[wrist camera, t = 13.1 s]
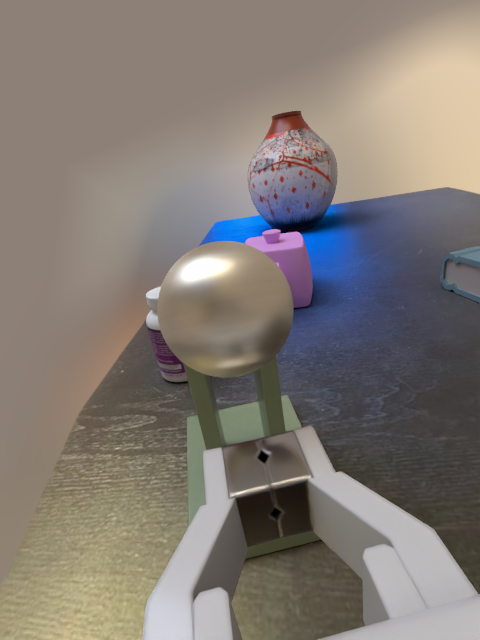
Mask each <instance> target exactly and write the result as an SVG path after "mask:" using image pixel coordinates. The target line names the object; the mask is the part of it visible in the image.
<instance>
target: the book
mask: <svg viewBox="0 0 480 640" xmlns="http://www.w3.org/2000/svg"><path fill="white" fill-rule="evenodd" d="M440 282H441V283H442V285H443V287H444V289H446V290H449V291H451V290H453V291H454V292H455V293H456V294H459V295H461V296H464V297H466V298H469V299H471V300H474V301H476V302H479V303H480V246H476V247H472V248H468V249H464V250H459V251H455V252H451V253H448V254H447V255H445V256H444V257H443V258H442V265H441V275H440Z"/></svg>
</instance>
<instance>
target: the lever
mask: <svg viewBox="0 0 480 640" xmlns="http://www.w3.org/2000/svg"><path fill="white" fill-rule="evenodd" d="M293 313H294V307H293V297H292V293H291V289H290V286H289V284H288V281H287V279H286V277H285V275H284V274H283V272H282V270H281V269H280V268H279V267H278V265H277V264H276V263H275V262H274V261H273V260H272V259H271V258H270V257H269V256H267V255H266V254H264V253H263V252H262V251H260V250H258V249H256V248H254V247H252V246H249V245H246V244H243V243H239V242H233V241H218V242H211V243H207V244H204V245H201V246H199V247H197V248H195V249H193V250H191V251H189V252H188V253H186V254H185V255H183V256H182V257H181V258H180V259H179V260H178V261H177V262H176V263H175V264H174V265H173V266H172V268H171V269H170V270H169V272H168V274H167V275H166V277H165V279H164V281H163V283H162V286H161V289H160V292H159V297H158V304H157V315H158V322H159V326H160V330H161V333H162V335H163V338H164V340H165V342H166V343H167V345H168V347H169V348H170V350H171V351H172V352H173V353H174V355H175V356H176V357H177V358H178V359H179V360H180V361H182V362H183V363H184V364H186V365H187V366H188V367H190V368H192V369H194V370H195V371H198V372H200V373H203V374H205V375H209V376H214V377H223V378H226V377H238V376H242V375H246V374H248V373H251V372H254V371H256V370H257V369H259V368H261V367H263V366H264V365H265V364H267V363H268V362H269V361H271V360H272V359H273V358H274V357H275V356H276V355H277V353H278V352H279V351H280V350H281V348H282V347H283V345H284V343H285V342H286V340H287V338H288V335H289V333H290V330H291V326H292V322H293Z"/></svg>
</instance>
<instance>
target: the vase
mask: <svg viewBox="0 0 480 640" xmlns="http://www.w3.org/2000/svg"><path fill="white" fill-rule="evenodd" d="M336 184H337V163H336V158H335V155H334V153H333V151H332V149H331V148H330V146H329V145H328V144H327V143H326V142H325V141H324V140H322V139H321V138H320V137H319V136H318V135H317V134H316V133H315V132H314V131H313V130H312V129H311V128H310V127H309V126H308V125H307V124H306V122H305V121H304V119H303V118H302V115H301V111H292V112H286V113H281V114H278V115H275V116H273V117H272V124H271V127H270V129H269V131H268V133H267V135H266V137H265V139H264V140H263V142H262V144H261V145H260V147H259V148H258V150H257V152H256V153H255V155H254V156H253V158H252V160H251V162H250V165H249V169H248V186H249V191H250V195H251V198H252V201H253V203H254V205H255V207H256V209H257V211H258V212H259V214H260V215H261V216H262V218H263V219H264V220H265V221H266V222H267V223H268V224H269V225H271V226H272V227H273V228H275V229H278V230H281V231H296V230H302V229H306V228H309V227H311V226H313V225H315V224H316V223H318V222H319V221H320V220H321V219H322V217H323V216H324V215H325V213H326V212H327V210H328V208H329V206H330V204H331V202H332V199H333V197H334V193H335V189H336Z"/></svg>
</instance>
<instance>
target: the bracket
mask: <svg viewBox="0 0 480 640" xmlns="http://www.w3.org/2000/svg"><path fill="white" fill-rule="evenodd" d="M183 365H184V368H185V372H186V376H187V379H188V383H189V387H190V391H191V394H192V398H193V402H194V405H195V409H196V413H197V415H196V416H191V417H187V463H188V527H189V526H190V524H191V522H192V520H193V518H194V517H195V515H196V513H197V511H198V509H199V508H200V506H203V505H206V495H205V480H204V465H203V452H204V451H205V450H210V449H214V448H219V447H222V446H227V445H231V444H236V443H241V442H246V441H250V440H255V439H259V438H263V437H267V436H271V435H275V434H279V433H283V432H287V431H291V430H292V431H293V430H295V429H299V428H302V427H301V424H300V422H299V420H298V418H297V415H296V413H295V411H294V409H293V406H292V404H291V402H290V400H289V398H288V395H285V396H281V393H280V385H279V377H278V370H277V362H276V356H275V357H274V358H273V359H272V360H271V361H269V362H268V363H267V364H265V365H264V366H263V367H261V368H259V369H257V370H256V371H254V372H253V374H254V380H255V386H256V392H257V398H258V402H254V403H249V404H245V405H240V406H236V407H231V408H227V409H222V410H218V407H217V403H216V398H215V394H214V390H213V386H212V381H211V377H210V376H209V375H205V374H203V373H200V372H198V371H195V370H194V369H192V368H190V367H188V366H187V365H186V364H184V363H183ZM318 540H321V539H320V538H319V537H318V536H317V535H316V534H315V533H314V530H313V531H309V532H304V533H300V534H295V535H291V536H287V537H282V538H278V539H275V540H271V541H268V542H264V543H261V544H257V545H254V546H251V547H248V552H247V555H246V558H245V559H247V558H251V557H255V556H259V555H263V554H267V553H271V552H275V551H278V550H282V549H286V548H290V547H294V546H298V545H302V544H306V543H310V542H314V541H318Z"/></svg>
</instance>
